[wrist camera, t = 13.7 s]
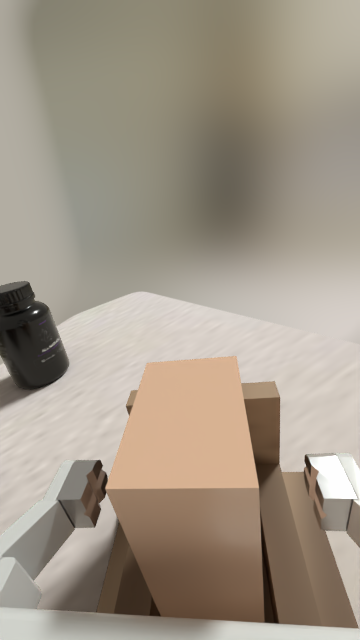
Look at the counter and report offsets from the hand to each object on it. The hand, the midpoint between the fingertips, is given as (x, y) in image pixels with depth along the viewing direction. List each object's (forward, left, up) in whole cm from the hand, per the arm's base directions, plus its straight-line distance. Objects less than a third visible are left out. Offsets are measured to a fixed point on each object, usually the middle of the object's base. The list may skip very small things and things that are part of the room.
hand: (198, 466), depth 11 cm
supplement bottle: (+22, -20, -9) cm, 31 cm away
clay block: (0, +1, -8) cm, 8 cm away
